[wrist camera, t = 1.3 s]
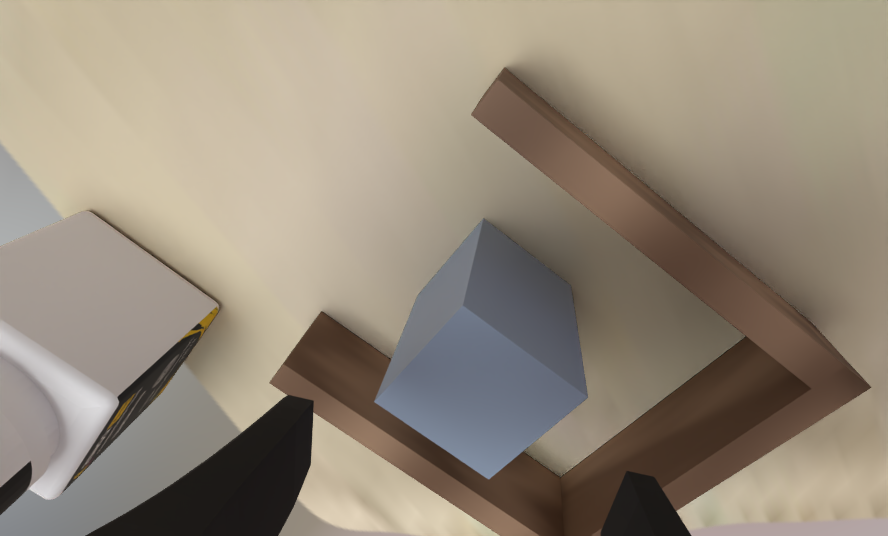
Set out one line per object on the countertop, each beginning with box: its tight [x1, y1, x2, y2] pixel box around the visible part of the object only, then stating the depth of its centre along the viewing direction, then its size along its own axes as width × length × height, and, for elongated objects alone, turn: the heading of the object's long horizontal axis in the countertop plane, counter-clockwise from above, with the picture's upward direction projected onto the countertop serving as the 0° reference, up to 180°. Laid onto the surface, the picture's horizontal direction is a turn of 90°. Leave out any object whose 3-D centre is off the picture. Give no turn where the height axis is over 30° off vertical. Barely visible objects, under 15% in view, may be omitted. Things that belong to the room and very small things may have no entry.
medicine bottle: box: [0, 211, 219, 515], centre depth 20 cm, size 7×7×12 cm
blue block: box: [374, 218, 588, 479], centre depth 19 cm, size 4×4×7 cm
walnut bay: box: [270, 68, 871, 536], centre depth 20 cm, size 15×14×4 cm
